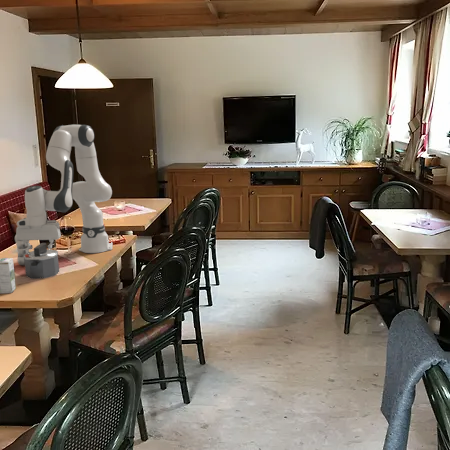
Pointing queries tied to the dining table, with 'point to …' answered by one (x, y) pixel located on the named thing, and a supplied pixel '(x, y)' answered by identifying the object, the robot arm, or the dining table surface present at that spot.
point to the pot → (42, 268)
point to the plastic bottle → (21, 250)
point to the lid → (40, 253)
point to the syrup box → (7, 276)
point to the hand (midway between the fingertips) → (40, 248)
